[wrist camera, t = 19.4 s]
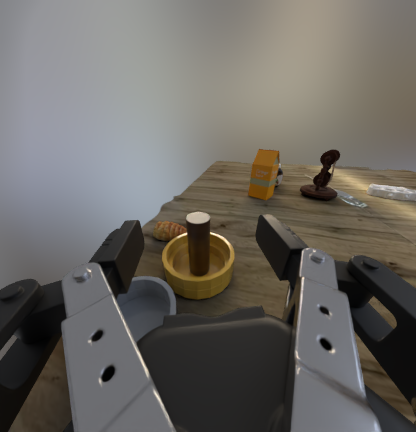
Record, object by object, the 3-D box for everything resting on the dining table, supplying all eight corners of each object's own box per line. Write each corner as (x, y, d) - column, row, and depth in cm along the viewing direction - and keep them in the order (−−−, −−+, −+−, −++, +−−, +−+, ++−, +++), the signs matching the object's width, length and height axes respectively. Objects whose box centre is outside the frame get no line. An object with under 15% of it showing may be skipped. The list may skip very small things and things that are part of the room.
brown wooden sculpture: (332, 204, 66) (353, 153, 56) (294, 195, 75) (308, 150, 65) (337, 195, 75) (357, 150, 66) (304, 188, 84) (316, 147, 74)
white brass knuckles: (405, 193, 78) (425, 204, 67) (360, 188, 85) (371, 197, 73) (409, 186, 77) (431, 197, 65) (363, 181, 83) (375, 190, 72)
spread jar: (263, 188, 84) (267, 165, 78) (256, 181, 94) (259, 161, 88) (285, 187, 84) (290, 165, 79) (276, 181, 94) (281, 161, 89)
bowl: (197, 318, 26) (196, 298, 24) (152, 270, 35) (148, 251, 32) (245, 269, 35) (248, 250, 33) (200, 241, 44) (199, 224, 42)
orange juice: (265, 200, 70) (275, 151, 60) (247, 195, 75) (254, 149, 65) (272, 195, 75) (282, 150, 65) (255, 191, 80) (262, 148, 70)
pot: (106, 424, 17) (90, 412, 14) (80, 332, 24) (66, 313, 22) (194, 330, 25) (193, 311, 22) (154, 282, 32) (149, 264, 30)
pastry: (189, 230, 49) (189, 219, 47) (183, 244, 43) (182, 233, 41) (161, 227, 50) (159, 217, 48) (151, 241, 44) (149, 229, 42)
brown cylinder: (199, 280, 32) (197, 226, 26) (185, 268, 35) (180, 217, 29) (213, 268, 35) (215, 217, 29) (200, 258, 38) (198, 209, 31)
